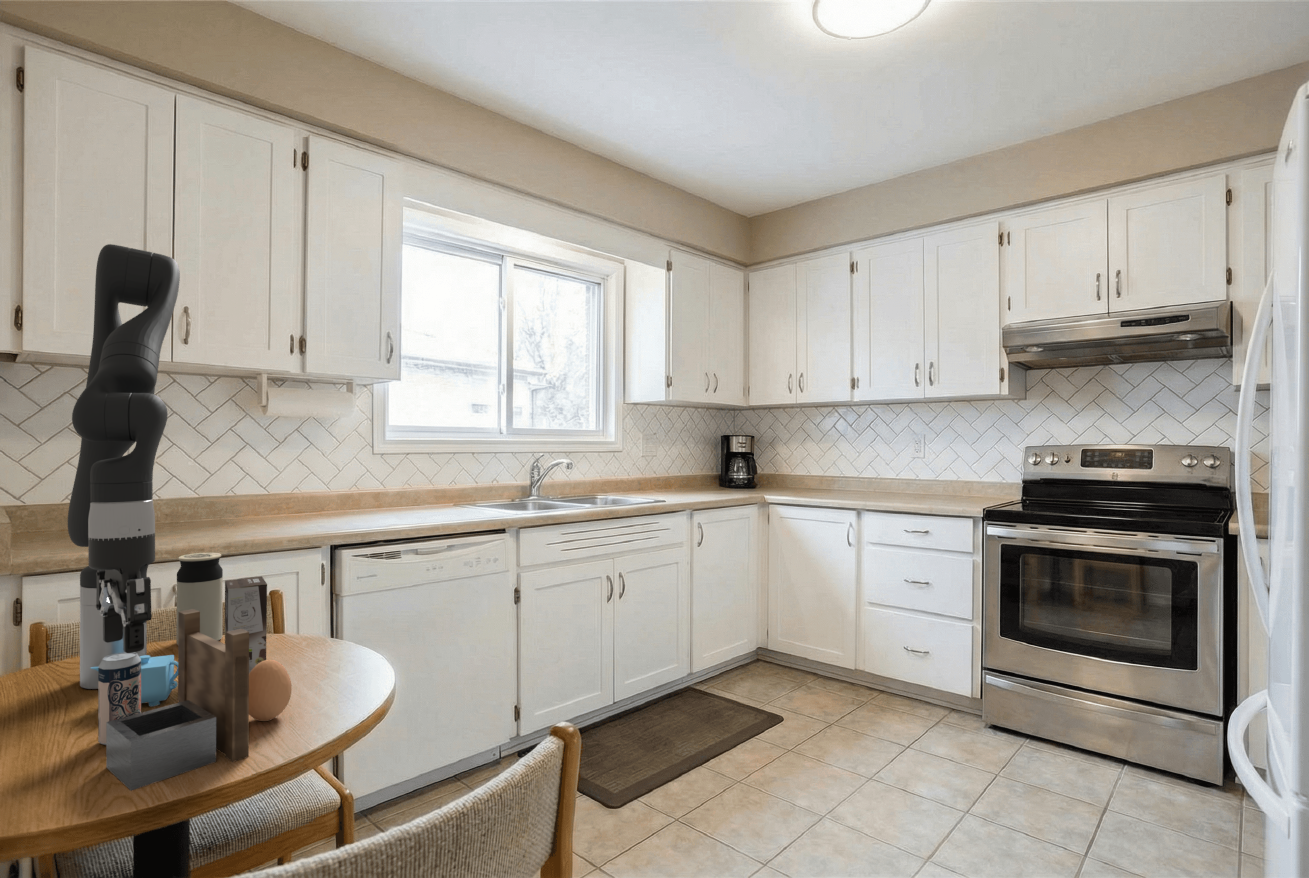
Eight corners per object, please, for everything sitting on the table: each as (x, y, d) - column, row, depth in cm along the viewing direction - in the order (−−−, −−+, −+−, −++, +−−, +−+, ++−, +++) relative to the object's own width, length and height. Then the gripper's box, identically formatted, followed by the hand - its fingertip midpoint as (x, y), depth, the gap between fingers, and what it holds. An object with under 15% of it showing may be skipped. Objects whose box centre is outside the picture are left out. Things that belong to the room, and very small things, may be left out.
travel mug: (187, 650, 137) (187, 560, 137) (169, 643, 142) (169, 556, 141) (229, 640, 144) (229, 554, 144) (211, 633, 148) (211, 550, 148)
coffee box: (267, 671, 126) (268, 584, 125) (226, 678, 122) (226, 588, 122) (263, 657, 133) (263, 575, 133) (224, 663, 130) (224, 578, 129)
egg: (272, 707, 109) (273, 650, 109) (301, 715, 107) (301, 657, 106) (232, 723, 103) (232, 663, 103) (260, 732, 101) (261, 670, 100)
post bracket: (106, 767, 90) (106, 721, 90) (188, 741, 97) (188, 699, 97) (130, 790, 84) (131, 742, 84) (216, 761, 92) (216, 716, 91)
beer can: (117, 749, 95) (117, 663, 95) (89, 745, 96) (89, 660, 96) (149, 734, 99) (149, 652, 99) (122, 731, 100) (122, 649, 100)
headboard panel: (178, 724, 103) (178, 611, 103) (193, 720, 104) (193, 608, 104) (232, 761, 91) (233, 635, 91) (248, 756, 93) (249, 631, 93)
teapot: (83, 716, 105) (83, 668, 105) (95, 702, 111) (96, 656, 111) (177, 704, 111) (177, 657, 111) (184, 691, 116) (184, 647, 116)
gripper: (172, 533, 96) (173, 648, 96) (136, 525, 105) (136, 631, 105) (106, 540, 90) (107, 662, 90) (73, 531, 99) (74, 643, 99)
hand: (123, 646), depth 98 cm, fingers open, 8 cm apart
